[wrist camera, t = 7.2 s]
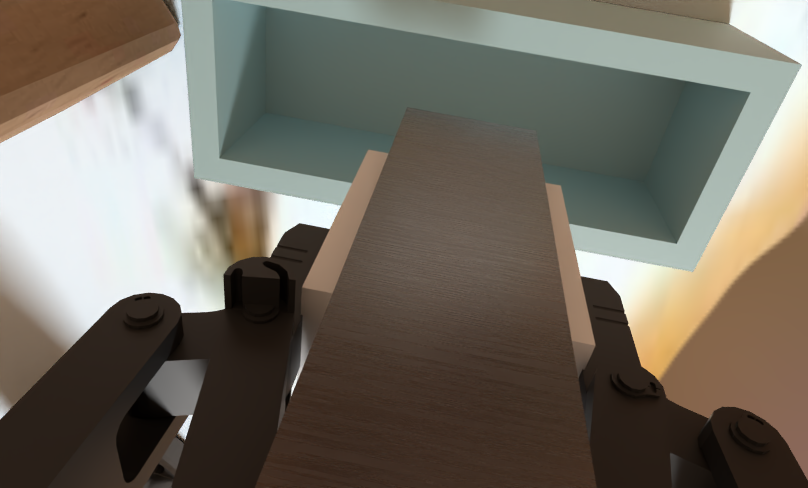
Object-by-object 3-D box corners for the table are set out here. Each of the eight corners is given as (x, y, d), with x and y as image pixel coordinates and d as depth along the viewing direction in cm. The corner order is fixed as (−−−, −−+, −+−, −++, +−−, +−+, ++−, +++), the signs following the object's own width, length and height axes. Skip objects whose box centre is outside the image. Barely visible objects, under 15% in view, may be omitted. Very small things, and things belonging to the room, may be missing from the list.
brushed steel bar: (390, 217, 19) (157, 958, 6) (406, 107, 17) (95, 888, 4) (505, 240, 19) (528, 1051, 6) (536, 130, 17) (688, 1030, 4)
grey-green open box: (250, 123, 31) (194, 178, 25) (248, -60, 26) (178, -45, 20) (653, 197, 30) (693, 272, 24) (729, 24, 25) (801, 64, 19)
